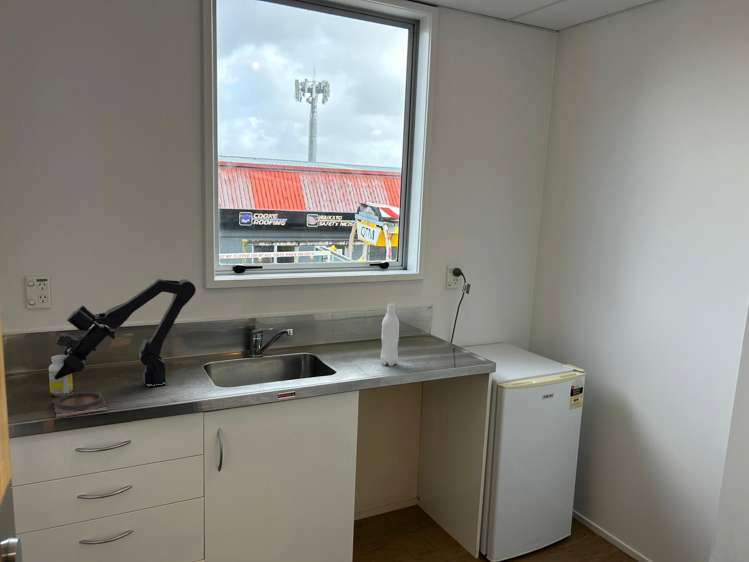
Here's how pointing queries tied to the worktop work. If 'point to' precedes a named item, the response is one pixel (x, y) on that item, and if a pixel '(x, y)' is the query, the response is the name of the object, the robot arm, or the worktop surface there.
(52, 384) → the supplement bottle
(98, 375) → the worktop surface
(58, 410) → the locating board
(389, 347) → the water bottle
